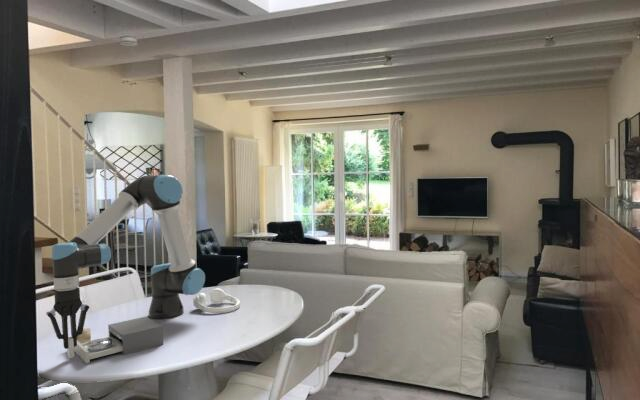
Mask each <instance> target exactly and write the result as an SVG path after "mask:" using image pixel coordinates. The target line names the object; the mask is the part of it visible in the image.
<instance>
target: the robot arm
mask: <svg viewBox="0 0 640 400" xmlns="http://www.w3.org/2000/svg"><path fill="white" fill-rule="evenodd" d="M183 191H184V190H183V186H182V184H181V181H180V180H179V179H178V178H177V177H175V176H173V175H171V174H156V175H143V176H140V177H138V178H136V179H135V180H133V181H132V182H131V183H129V184H128V185H127V186H126V187H124V188H123V189H122V190H121V191H120V192H119V193H118V195H117V196H118V197H117V198H116V199H115V200H114V201H112V203H110V204H109V205H108V206H107V207H106V208H105V209H104V210H102V212H101V213H100V214H98V215H97V216H96V217H95V218H94V219H93V220H92V221H91V222H90V223H89V224H88V225H87V226H85V227H84V228H83V229H81V231H80V232H78V234H76V236H74V237H73V238H72V239H71V240H69V242H60V243H59V242H58V243H56V244H53V245H52V248H51V249H52V250H51V260H52V275H53V288H54V305H53V307H52V309H50V310H49V311H46V313H45V314H46V316H48V317H49V319H50V322H51V324H52V327H53V330H54V333H55V335H56V338H57V339H58V340H63V347H64V349H66V351H67V353H66V354H67V358H68V359H73V358H75V351H74V347H75V346H77V336H78V335H81V334H82V332H83V329H84V327H85V321H86V316H87V312H88V311H89V309H90V306H89V305H88V304H85V303H83V301H82V300H81V291H80V287H79V286H80V274H79V273H80V272H79V269H84V268H89V267H95V266H102V265H104V264H107V263H109V262H110V261H111V258H112V250H111V248H110V246H109V245H108V244H106V243H99V242H100V241H102V239H104V238H105V237H106V236H107V235H108V234H109V233H110V232H111V231H112V230H114V228H116V226H118V225H119V223H120V222H122V221H123V220H124V218H126V217H127V216H128V215H129V214H130V213H131V212H132V211H136V210H138V209H139V208H140V207H141V206H143V205H145V204H150V207H151V210H152V211H153V212H154V213H156V215H157V218H158V222H159V225H160V229H161V231H162V232H161V233H162V236H163V239H164V244H165V246H166V250H167V254H168V259H169V261H170V262H168V263H163V264H162V263H161V264H157V265H153V266H152V267H151V268H150V286H151V301H150V302H151V303H150V306H149V309H148V318H149V319H151V318H152V319H161V320H162V319H169V318H175V317H178V316H181V315H182V314H184V311H185V309H184V306H183V302H182V300H181V298H180V295H185V296H192V295H193V296H194V295H198V294H199V293H200V292H201V290H202V289H203V288H204V285H205V282H206V274H205V272H204V270H202V269H201V268H199V267H198V266H197V262H196V260H195V259H193V258H192V257H191V253H190V250H189V245H188V242H187V238H186V235H185V231H184V226H183V223H182V219H181V216H180V212H179V206H180V204H181V201H180V200H181V199H182V195H183V193H184V192H183ZM79 310H80V314H79V319H78V325H77V313H78V311H79ZM56 312H57V314H58V315H59V316H60V318H61V330H60V326H59V324H58V321H57V318H56ZM68 317H69V319H70V320H69V321H70V335H71V336H69V328H68V323H69V322H68ZM61 331H62V332H61Z"/></svg>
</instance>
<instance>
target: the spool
mask: <svg viewBox="0 0 640 400" xmlns="http://www.w3.org/2000/svg"><path fill="white" fill-rule="evenodd" d="M91 335H92V333H91V328H90V327H89V328H88V327H87V328H84V327H83V332H82V334H81V335H78V336H77V341H78V342H80V343H81V344H82V343H86V342H90V341H92V339H91V338H92V337H91Z"/></svg>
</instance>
